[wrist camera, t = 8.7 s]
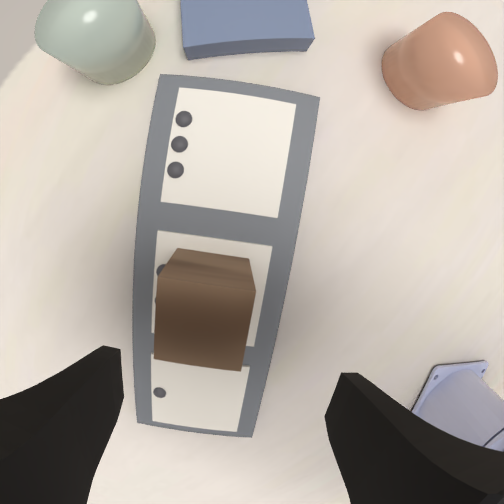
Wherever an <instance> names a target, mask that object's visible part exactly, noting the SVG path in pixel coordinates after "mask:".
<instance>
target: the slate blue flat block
mask: <svg viewBox="0 0 504 504" xmlns="http://www.w3.org/2000/svg"><path fill="white" fill-rule="evenodd" d="M181 17H182V34H183V48H184V50H185V53H186V56H187V58H188V60H194V59H200V58H207V57H215V56H224V55H234V54H245V53H260V52H285V51H307V49H308V48H309V46H310V45H311V43H312V42H313V40H314V39H315V37H314V32H313V27H312V22H311V18H310V13H309V9H308V4H307V0H181Z"/></svg>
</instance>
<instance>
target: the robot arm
mask: <svg viewBox="0 0 504 504" xmlns="http://www.w3.org/2000/svg"><path fill="white" fill-rule="evenodd" d="M487 367H488V362H487V361H480V362H471V363H462V364H451V365H439V366H436V367H435V368H434V369H433V371H432V373H431V375H430V377H429V379H428V381H427V383H426V385H425V387H424V389H423V391H422V393H421V395H420V397H419V399H418V401H417V403H416V405H415V407H414V409H413V410H412V412H411V411H409V410H408V409H406V408H405V407H403V406H402V405H401V404H399V403H398V402H397V401H395V400H394V399H392V398H391V397H390V396H388V395H387V394H386V393H384V392H383V391H382V390H381V389H379V388H378V387H377V386H375V385H374V384H373V383H371V382H370V381H369V380H367V379H366V378H364V377H363V376H362V375H360V374H358V373H341V375H340V377H339V380H338V383H337V386H336V388H335V391H334V394H333V396H332V399H331V401H330V404H329V406H328V409H327V411H326V414H325V421H326V427H327V432H328V437H329V441H330V444H331V447H332V450H333V453H334V455H335V458H336V461H337V464H338V466H339V469H340V472H341V475H342V477H343V480H344V483H345V486H346V488H347V492H348V495H349V498H350V502H351V504H504V400H503V399H502V398H501V397H500V396H499V395H498V394H497V393H496V392H494V391H493V390H492V389H491V388H490V387H489V386H488V385H487V384H486V383H485V382H484V381H483V380H482V377H483V375H484V373H485V371H486V369H487ZM123 399H124V391H123V380H122V367H121V351H120V349H117V348H113V347H108V346H101V347H100V348H98V349H96V350H95V351H93V352H91V353H90V354H88V355H87V356H85V357H84V358H82V359H80V360H79V361H77V362H76V363H74V364H72V365H71V366H69V367H67V368H66V369H64V370H63V371H61V372H59V373H57V374H56V375H54V376H52V377H50V378H48V379H46V380H44V381H43V382H41V383H39V384H37V385H35V386H33V387H31V388H29V389H26V390H24V391H22V392H19V393H17V394H14V395H11V396H9V397H6V398H3V399H0V504H87V500H88V496H89V492H90V488H91V484H92V480H93V477H94V475H95V472H96V469H97V467H98V464H99V462H100V460H101V457H102V455H103V453H104V450H105V448H106V446H107V443H108V441H109V439H110V436H111V434H112V432H113V429H114V427H115V425H116V422H117V420H118V416H119V413H120V409H121V406H122V402H123Z"/></svg>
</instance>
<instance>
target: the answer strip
mask: <svg viewBox="0 0 504 504" xmlns="http://www.w3.org/2000/svg"><path fill="white" fill-rule="evenodd" d="M319 101H320V97H316V96H312V95H308V94H303V93H299V92H294V91H290V90H285V89H280V88H275V87H269V86H264V85H258V84H252V83H245V82H238V81H231V80H223V79H215V78H206V77H195V76H183V75H167V74H160V77H159V82H158V86H157V91H156V96H155V101H154V106H153V111H152V116H151V121H150V127H149V133H148V139H147V145H146V151H145V158H144V165H143V172H142V180H141V188H140V197H139V206H138V216H137V228H136V240H135V256H134V276H133V369H134V388H135V402H136V415H137V423H141V424H146V425H152V426H157V427H163V428H168V429H175V430H181V431H188V432H196V433H204V434H213V435H223V436H235V437H251V438H252V435H253V432H254V428H255V424H256V420H257V416H258V412H259V408H260V404H261V400H262V396H263V392H264V388H265V383H266V379H267V375H268V371H269V367H270V362H271V358H272V354H273V349H274V345H275V340H276V336H277V331H278V327H279V322H280V318H281V313H282V308H283V304H284V299H285V294H286V289H287V284H288V279H289V275H290V270H291V265H292V259H293V254H294V249H295V244H296V239H297V234H298V228H299V223H300V217H301V212H302V206H303V201H304V195H305V189H306V183H307V178H308V172H309V166H310V160H311V153H312V147H313V141H314V134H315V128H316V121H317V114H318V108H319ZM177 248H182V249H189V250H195V251H202V252H209V253H215V254H222V255H229V256H236V257H243V258H249V260H250V265H251V270H252V274H253V279H254V284H255V288H256V295H255V301H254V306H253V311H252V317H251V322H250V327H249V332H248V338H247V343H246V348H245V353H244V358H243V364H242V369H241V372H239V371H230V370H221V369H213V368H206V367H199V366H192V365H185V364H179V363H173V362H167V361H161V360H156V359H154V327H155V307H156V291H157V277H158V275H159V274H160V272H161V271H162V269H163V268H164V267H165V265H166V264H167V262H168V261H169V259H170V258H171V256H172V255H173V254H174V252H175V251H176V249H177Z"/></svg>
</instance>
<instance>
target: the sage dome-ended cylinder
mask: <svg viewBox="0 0 504 504" xmlns="http://www.w3.org/2000/svg"><path fill="white" fill-rule="evenodd" d="M35 40H36V43H37V45H38V46H39V48H40V49H41V50H43V51H44V52H46V53H48V54H49V55H51V56H53V57H54V58H56V59H58V60H59V61H61V62H63V63H64V64H66V65H68V66H69V67H71V68H73V69H74V70H76V71H78V72H79V73H81V74H82V75H84V76H86V77H87V78H89V79H90V80H92V81H94V82H96V83H98V84H103V85H113V84H118V83H121V82H124V81H126V80H128V79H130V78H132V77H133V76H135V75H136V74H137V73H139V72H140V71H141V70H142V69H143V68H144V67H145V66H146V64H147V63H148V62H149V60H150V58H151V56H152V54H153V52H154V49H155V43H156V38H155V33H154V31H153V28H152V27H151V25H150V23H149V21H148V19H147V18H146V16H145V14H144V12H143V10H142V9H141V7H140V5H139V3H138V1H137V0H48V1H47V2H46V3H45V5H44V6H43V8H42V10H41V12H40V14H39V16H38V18H37V21H36V25H35Z"/></svg>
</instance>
